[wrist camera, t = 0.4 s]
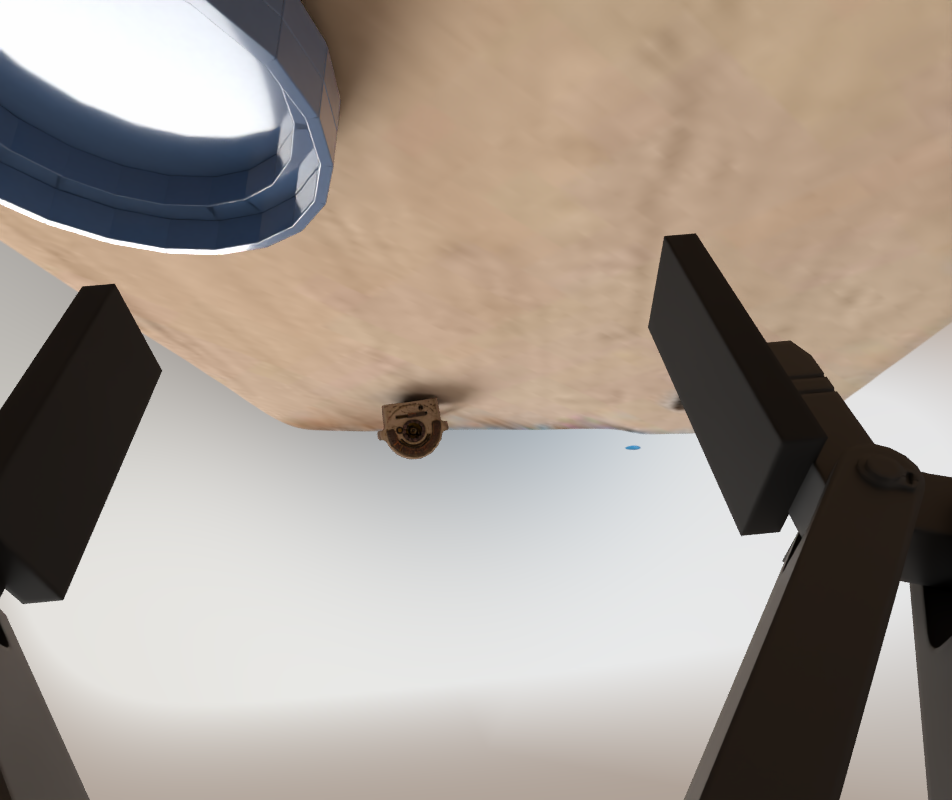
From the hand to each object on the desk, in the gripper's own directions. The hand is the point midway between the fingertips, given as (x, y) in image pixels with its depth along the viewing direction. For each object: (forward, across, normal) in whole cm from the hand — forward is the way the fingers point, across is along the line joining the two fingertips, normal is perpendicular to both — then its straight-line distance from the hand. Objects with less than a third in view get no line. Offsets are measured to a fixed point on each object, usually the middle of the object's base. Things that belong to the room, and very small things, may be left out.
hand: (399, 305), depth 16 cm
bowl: (+18, -12, +2) cm, 22 cm away
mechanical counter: (+41, -6, -44) cm, 60 cm away
